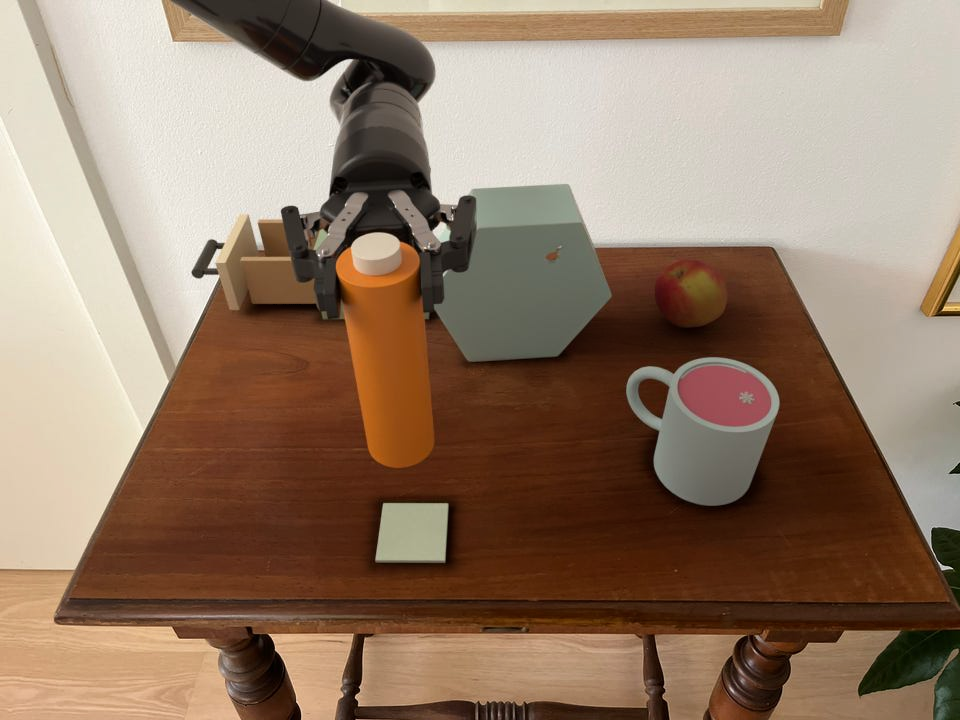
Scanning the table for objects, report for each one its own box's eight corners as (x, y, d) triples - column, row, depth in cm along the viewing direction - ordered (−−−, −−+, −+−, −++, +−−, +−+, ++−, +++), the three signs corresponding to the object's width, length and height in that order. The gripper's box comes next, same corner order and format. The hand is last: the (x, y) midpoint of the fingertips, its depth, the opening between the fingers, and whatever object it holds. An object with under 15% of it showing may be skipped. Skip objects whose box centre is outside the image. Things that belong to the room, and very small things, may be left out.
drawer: (195, 310, 87) (178, 262, 83) (219, 260, 95) (205, 214, 91) (325, 310, 87) (316, 262, 82) (339, 259, 95) (331, 213, 90)
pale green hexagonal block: (521, 344, 90) (629, 218, 79) (530, 387, 84) (647, 258, 74) (401, 291, 83) (501, 144, 72) (402, 334, 77) (510, 182, 67)
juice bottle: (355, 454, 56) (315, 257, 43) (389, 409, 59) (362, 215, 47) (414, 477, 54) (390, 279, 42) (446, 429, 57) (433, 234, 45)
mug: (768, 461, 70) (797, 387, 63) (723, 522, 65) (749, 449, 58) (645, 397, 77) (659, 324, 70) (595, 447, 72) (606, 374, 65)
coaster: (375, 562, 62) (375, 560, 62) (383, 505, 67) (383, 502, 67) (445, 563, 62) (445, 560, 62) (448, 505, 67) (448, 503, 66)
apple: (671, 293, 90) (682, 238, 85) (731, 320, 86) (746, 264, 81) (637, 322, 86) (647, 266, 81) (698, 352, 82) (712, 295, 77)
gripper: (278, 129, 53) (245, 261, 41) (472, 119, 54) (498, 245, 42) (297, 217, 58) (273, 359, 46) (474, 206, 59) (497, 342, 47)
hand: (380, 303), depth 44 cm, fingers closed on juice bottle, 5 cm apart
